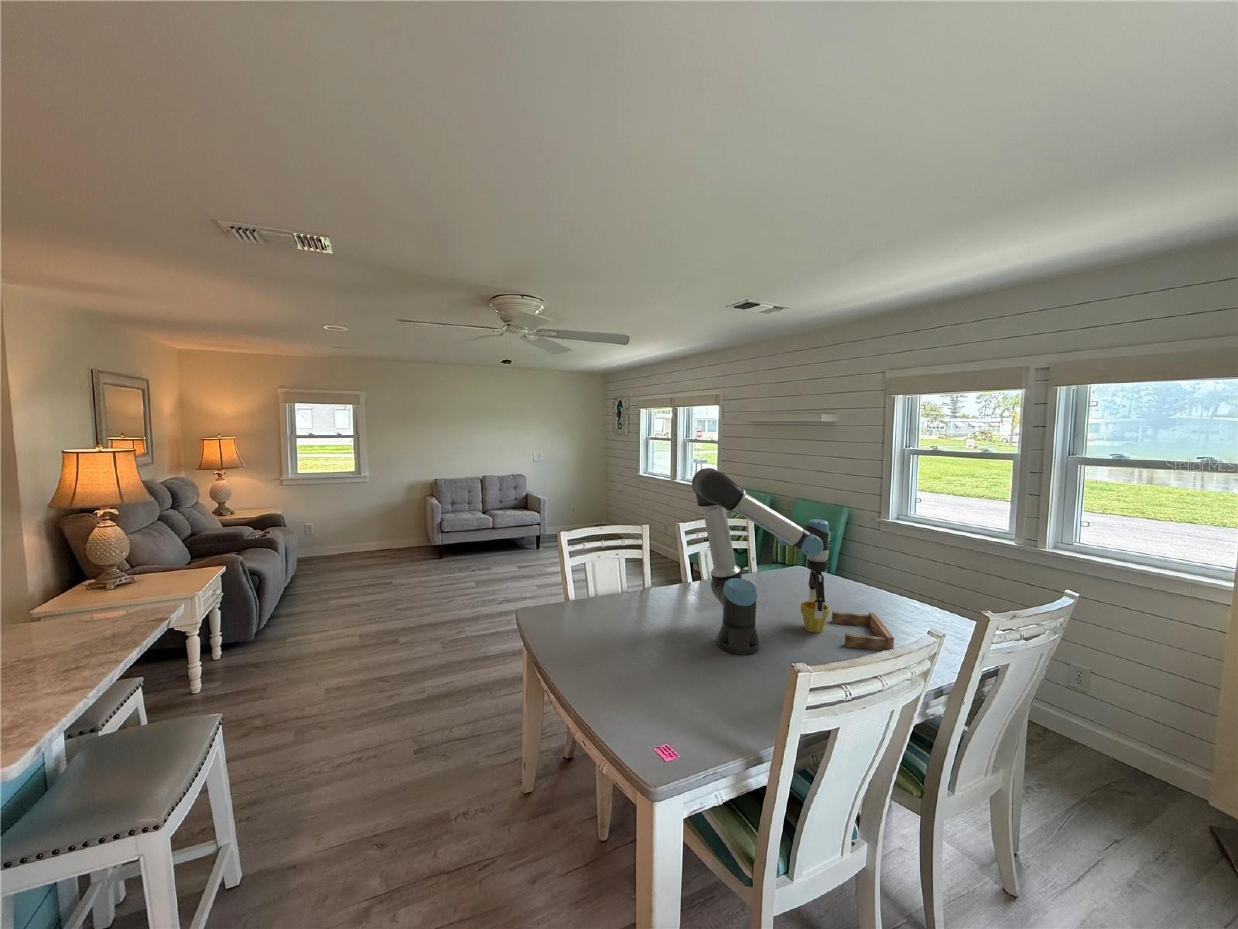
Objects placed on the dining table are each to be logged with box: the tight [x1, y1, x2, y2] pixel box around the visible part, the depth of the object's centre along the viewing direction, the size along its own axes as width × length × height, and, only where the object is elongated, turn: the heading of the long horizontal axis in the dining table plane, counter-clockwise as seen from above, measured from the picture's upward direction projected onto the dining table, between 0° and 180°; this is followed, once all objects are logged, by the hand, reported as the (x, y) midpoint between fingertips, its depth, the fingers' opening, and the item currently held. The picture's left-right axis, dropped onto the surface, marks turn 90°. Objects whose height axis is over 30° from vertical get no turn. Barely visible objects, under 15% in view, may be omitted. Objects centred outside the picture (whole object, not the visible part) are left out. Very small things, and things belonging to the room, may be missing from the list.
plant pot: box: [800, 600, 830, 634], centre depth 195 cm, size 10×10×10 cm
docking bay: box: [831, 611, 895, 651], centre depth 191 cm, size 16×24×5 cm, turn 168°
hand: (815, 611), depth 195 cm, fingers open, 13 cm apart
